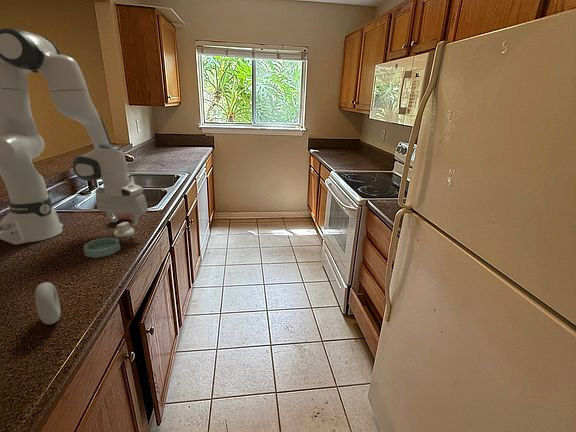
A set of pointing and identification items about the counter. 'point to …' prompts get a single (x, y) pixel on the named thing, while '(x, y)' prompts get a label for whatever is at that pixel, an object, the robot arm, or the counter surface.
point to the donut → (47, 303)
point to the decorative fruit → (122, 215)
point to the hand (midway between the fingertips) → (124, 222)
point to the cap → (123, 230)
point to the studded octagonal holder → (101, 247)
